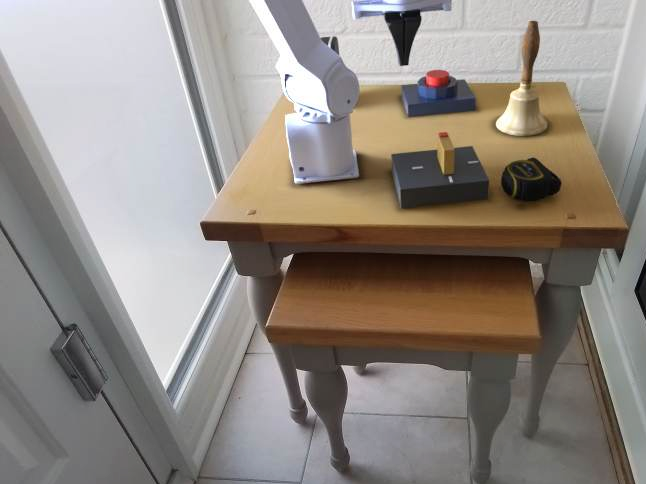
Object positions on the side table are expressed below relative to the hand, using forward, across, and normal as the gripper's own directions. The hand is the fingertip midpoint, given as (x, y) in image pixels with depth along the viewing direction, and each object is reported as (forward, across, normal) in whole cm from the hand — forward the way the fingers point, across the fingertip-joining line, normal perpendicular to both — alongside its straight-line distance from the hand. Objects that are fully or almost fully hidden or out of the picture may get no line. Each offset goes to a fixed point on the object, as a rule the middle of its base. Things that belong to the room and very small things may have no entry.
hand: (403, 63), depth 84 cm
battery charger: (+11, +12, -12) cm, 20 cm away
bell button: (+7, -7, -8) cm, 13 cm away
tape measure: (+11, -14, +24) cm, 30 cm away
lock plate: (+10, -2, +20) cm, 23 cm away
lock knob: (+7, -3, +20) cm, 22 cm away
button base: (+10, -7, -8) cm, 15 cm away
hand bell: (+11, -19, +4) cm, 22 cm away
